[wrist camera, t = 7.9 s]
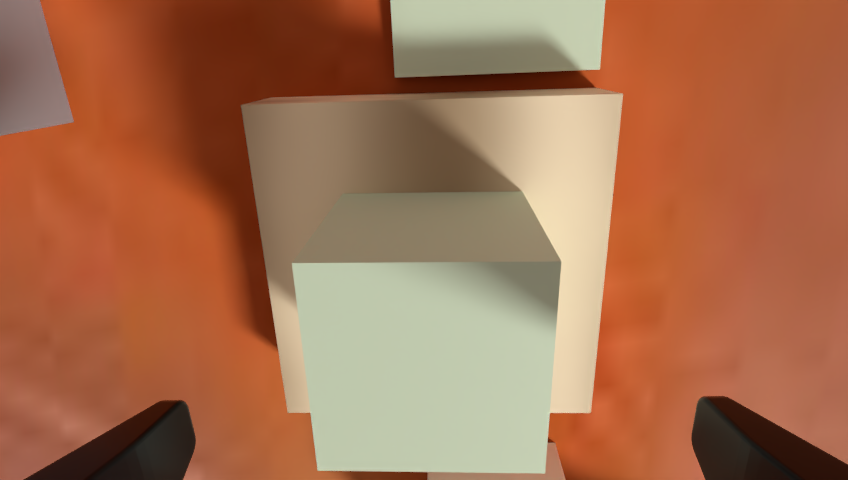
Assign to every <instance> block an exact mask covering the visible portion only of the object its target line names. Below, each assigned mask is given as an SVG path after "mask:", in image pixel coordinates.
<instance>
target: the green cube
mask: <svg viewBox="0 0 848 480" xmlns="http://www.w3.org/2000/svg"><path fill="white" fill-rule="evenodd" d="M292 269H293V277H294V285H295V293H296V301H297V309H298V317H299V325H300V333H301V341H302V349H303V357H304V365H305V373H306V381H307V389H308V397H309V405H310V413H311V421H312V429H313V437H314V445H315V453H316V461H317V469H318V471H382V472H462V473H541V474H545V468H546V455H547V442H548V429H549V416H550V403H551V390H552V377H553V364H554V351H555V338H556V325H557V312H558V299H559V286H560V273H561V260H560V258H559V256H558V254H557V253H556V251H555V249H554V247H553V245H552V244H551V242H550V240H549V238H548V236H547V235H546V233H545V231H544V229H543V228H542V226H541V224H540V222H539V220H538V219H537V217H536V215H535V213H534V211H533V210H532V208H531V206H530V204H529V202H528V201H527V199H526V197H525V195H524V193H523V192H522V191H505V192H426V193H347V194H342V195H341V197H340V198H339V199H338V201H337V202H336V203H335V205H334V206H333V208H332V209H331V210H330V212H329V213H328V214H327V216H326V217H325V218H324V220H323V221H322V223H321V224H320V225H319V227H318V228H317V229H316V231H315V232H314V234H313V235H312V236H311V238H310V239H309V240H308V242H307V243H306V244H305V246H304V247H303V249H302V250H301V251H300V253H299V254H298V255H297V257H296V258H295V260H294V261H293V262H292Z"/></svg>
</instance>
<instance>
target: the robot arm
mask: <svg viewBox="0 0 848 480" xmlns="http://www.w3.org/2000/svg"><path fill="white" fill-rule="evenodd" d="M195 443H196V438H195V433H194V428H193V424H192V420H191V416H190V412H189V408H188V405H187V404H186V403H185V402H184V401H182V400H164V401H160V402H158V403H156V404H154V405H152V406H151V407H149V408H147V409H146V410H144V411H142V412H140V413H139V414H137V415H135V416H133V417H132V418H130V419H128V420H126V421H125V422H123V423H121V424H120V425H118V426H116V427H114V428H113V429H111V430H109V431H107V432H106V433H104V434H102V435H100V436H99V437H97V438H95V439H93V440H92V441H90V442H88V443H87V444H85V445H83V446H81V447H80V448H78V449H76V450H74V451H73V452H71V453H69V454H67V455H66V456H64V457H62V458H60V459H59V460H57V461H55V462H54V463H52V464H50V465H48V466H47V467H45V468H43V469H41V470H40V471H38V472H36V473H34V474H33V475H31V476H29V477H27V478H26V479H24V480H183V478H184V476H185V473H186V470H187V468H188V465H189V463H190V460H191V457H192V455H193V452H194V449H195ZM692 445H693V449H694V452H695V455H696V457H697V460H698V462H699V465H700V467H701V470H702V472H703V475H704V477H705V480H848V464H846V463H844V462H842V461H841V460H839V459H837V458H835V457H833V456H832V455H830V454H828V453H826V452H825V451H823V450H821V449H819V448H817V447H816V446H814V445H812V444H810V443H808V442H807V441H805V440H803V439H801V438H800V437H798V436H796V435H794V434H792V433H791V432H789V431H787V430H785V429H784V428H782V427H780V426H778V425H776V424H775V423H773V422H771V421H769V420H767V419H766V418H764V417H762V416H760V415H759V414H757V413H755V412H753V411H751V410H750V409H748V408H746V407H744V406H743V405H741V404H739V403H737V402H735V401H734V400H732V399H730V398H728V397H724V396H704V397H702V398H700V399H699V401H698V403H697V407H696V413H695V418H694V424H693V430H692Z"/></svg>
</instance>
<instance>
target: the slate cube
mask: <svg viewBox="0 0 848 480" xmlns="http://www.w3.org/2000/svg"><path fill="white" fill-rule="evenodd" d="M71 122H74V121H73V117H72V114H71V110H70V106H69V103H68V99H67V96H66V92H65V89H64V85H63V82H62V78H61V74H60V71H59V67H58V64H57V60H56V57H55V53H54V49H53V46H52V42H51V39H50V35H49V32H48V28H47V24H46V21H45V17H44V14H43V10H42V7H41V3H40V0H0V136H1V135H7V134H12V133H18V132H23V131H28V130H34V129H39V128H44V127H50V126H55V125H61V124H66V123H71Z"/></svg>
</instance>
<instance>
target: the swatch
mask: <svg viewBox="0 0 848 480" xmlns="http://www.w3.org/2000/svg"><path fill="white" fill-rule="evenodd" d="M390 3H391V21H392V39H393V56H394V74H395V78H400V77H425V76H450V75H475V74H500V73H525V72H550V71H575V70H600V62H601V49H602V36H603V23H604V10H605V0H390Z"/></svg>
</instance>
